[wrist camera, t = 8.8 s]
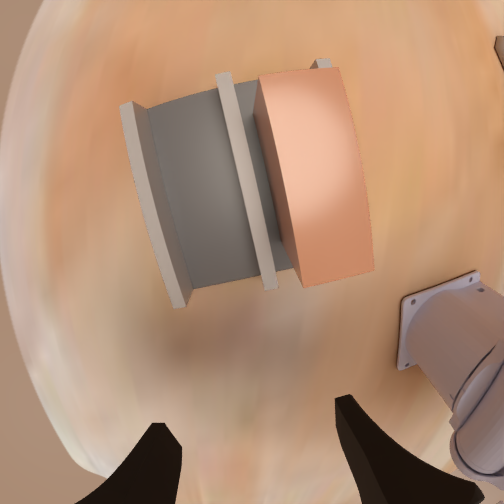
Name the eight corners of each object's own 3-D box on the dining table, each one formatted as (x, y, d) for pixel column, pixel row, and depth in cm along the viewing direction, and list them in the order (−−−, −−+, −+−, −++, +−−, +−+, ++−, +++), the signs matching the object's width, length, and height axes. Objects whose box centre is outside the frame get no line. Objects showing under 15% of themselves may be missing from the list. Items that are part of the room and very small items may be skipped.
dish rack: (314, 76, 15) (329, 58, 12) (348, 249, 18) (368, 266, 15) (140, 115, 15) (119, 105, 12) (184, 285, 19) (173, 309, 16)
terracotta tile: (327, 231, 17) (374, 270, 10) (280, 241, 17) (303, 288, 10) (301, 105, 15) (338, 67, 8) (252, 113, 15) (258, 75, 8)
